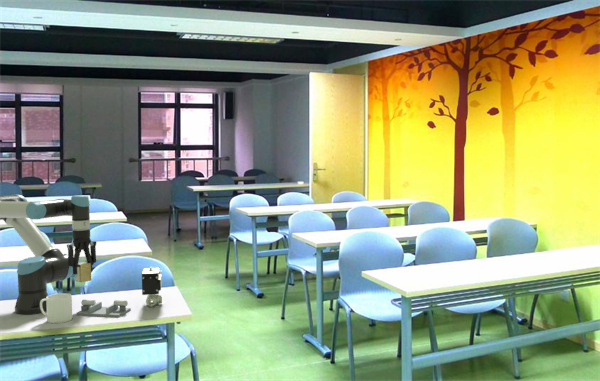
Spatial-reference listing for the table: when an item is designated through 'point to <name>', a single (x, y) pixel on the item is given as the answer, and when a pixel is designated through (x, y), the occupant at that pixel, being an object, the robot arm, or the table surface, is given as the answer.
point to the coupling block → (84, 271)
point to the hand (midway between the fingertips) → (83, 279)
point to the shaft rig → (103, 308)
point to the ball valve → (152, 285)
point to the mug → (58, 308)
